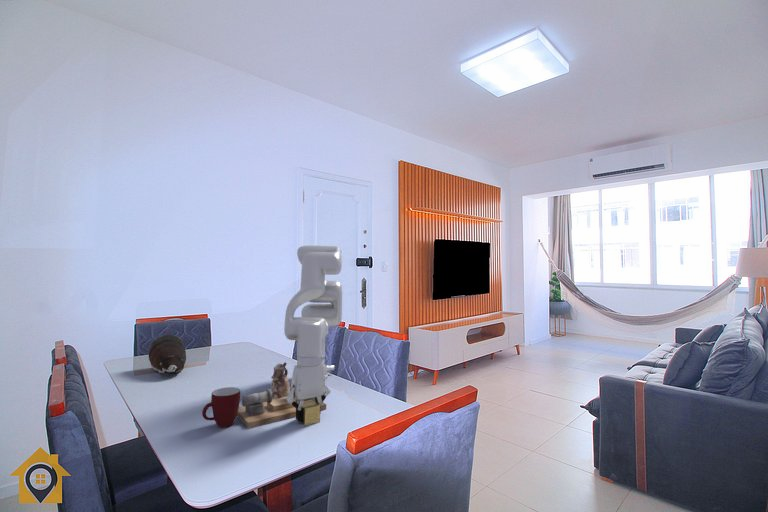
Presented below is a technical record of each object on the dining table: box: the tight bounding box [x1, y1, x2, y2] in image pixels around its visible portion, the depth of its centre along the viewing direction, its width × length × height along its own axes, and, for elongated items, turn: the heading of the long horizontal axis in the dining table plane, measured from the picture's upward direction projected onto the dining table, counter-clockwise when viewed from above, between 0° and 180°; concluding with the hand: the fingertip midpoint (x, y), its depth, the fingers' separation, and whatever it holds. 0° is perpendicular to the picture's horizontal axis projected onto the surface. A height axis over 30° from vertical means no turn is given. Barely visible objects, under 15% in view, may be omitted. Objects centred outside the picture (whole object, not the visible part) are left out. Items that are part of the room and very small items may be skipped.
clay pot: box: [148, 334, 187, 376], centre depth 166 cm, size 15×15×25 cm
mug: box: [201, 386, 241, 429], centre depth 112 cm, size 10×8×10 cm
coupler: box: [301, 400, 321, 427], centre depth 117 cm, size 6×5×5 cm
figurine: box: [270, 361, 291, 400], centre depth 138 cm, size 7×7×12 cm
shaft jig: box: [236, 387, 327, 429], centre depth 124 cm, size 26×14×8 cm, turn 127°
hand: (308, 418), depth 117 cm, fingers closed on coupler, 5 cm apart
